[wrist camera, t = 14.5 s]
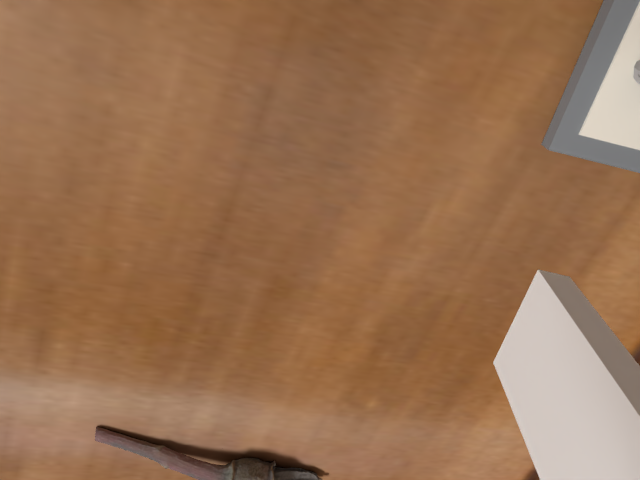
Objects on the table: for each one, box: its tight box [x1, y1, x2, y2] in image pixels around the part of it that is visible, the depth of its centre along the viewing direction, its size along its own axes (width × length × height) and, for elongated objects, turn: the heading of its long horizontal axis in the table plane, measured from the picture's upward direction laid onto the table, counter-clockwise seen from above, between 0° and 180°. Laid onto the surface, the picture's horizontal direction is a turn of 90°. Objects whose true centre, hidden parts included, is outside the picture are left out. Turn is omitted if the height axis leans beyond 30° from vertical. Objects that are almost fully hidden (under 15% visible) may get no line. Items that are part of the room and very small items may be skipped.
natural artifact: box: [95, 427, 322, 480], centre depth 50 cm, size 4×23×4 cm, turn 70°
